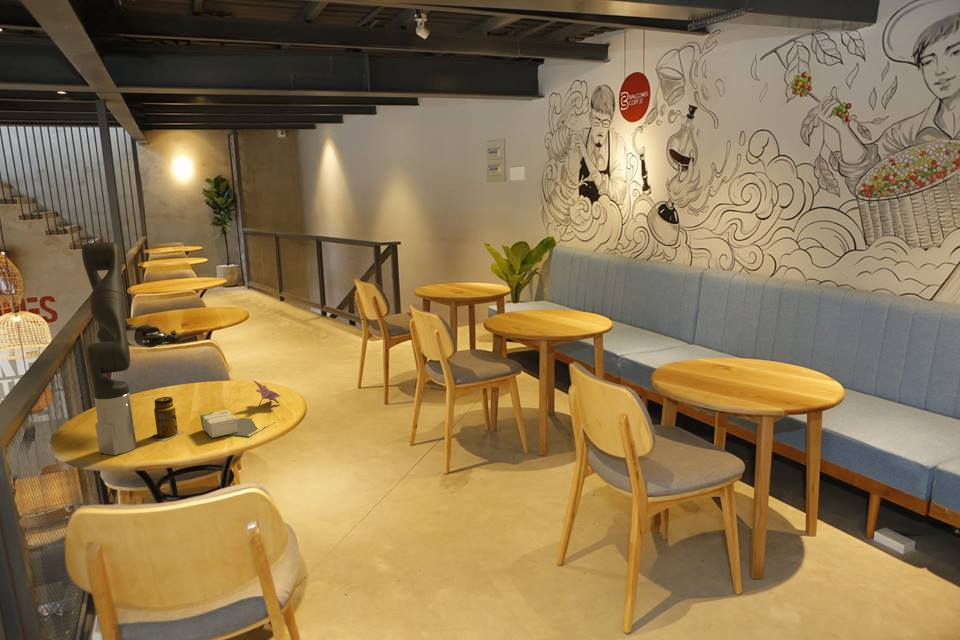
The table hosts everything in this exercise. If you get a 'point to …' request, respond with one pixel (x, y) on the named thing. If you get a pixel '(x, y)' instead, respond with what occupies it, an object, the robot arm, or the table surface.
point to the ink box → (219, 423)
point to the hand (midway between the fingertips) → (177, 339)
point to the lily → (266, 393)
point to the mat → (245, 428)
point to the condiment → (165, 419)
